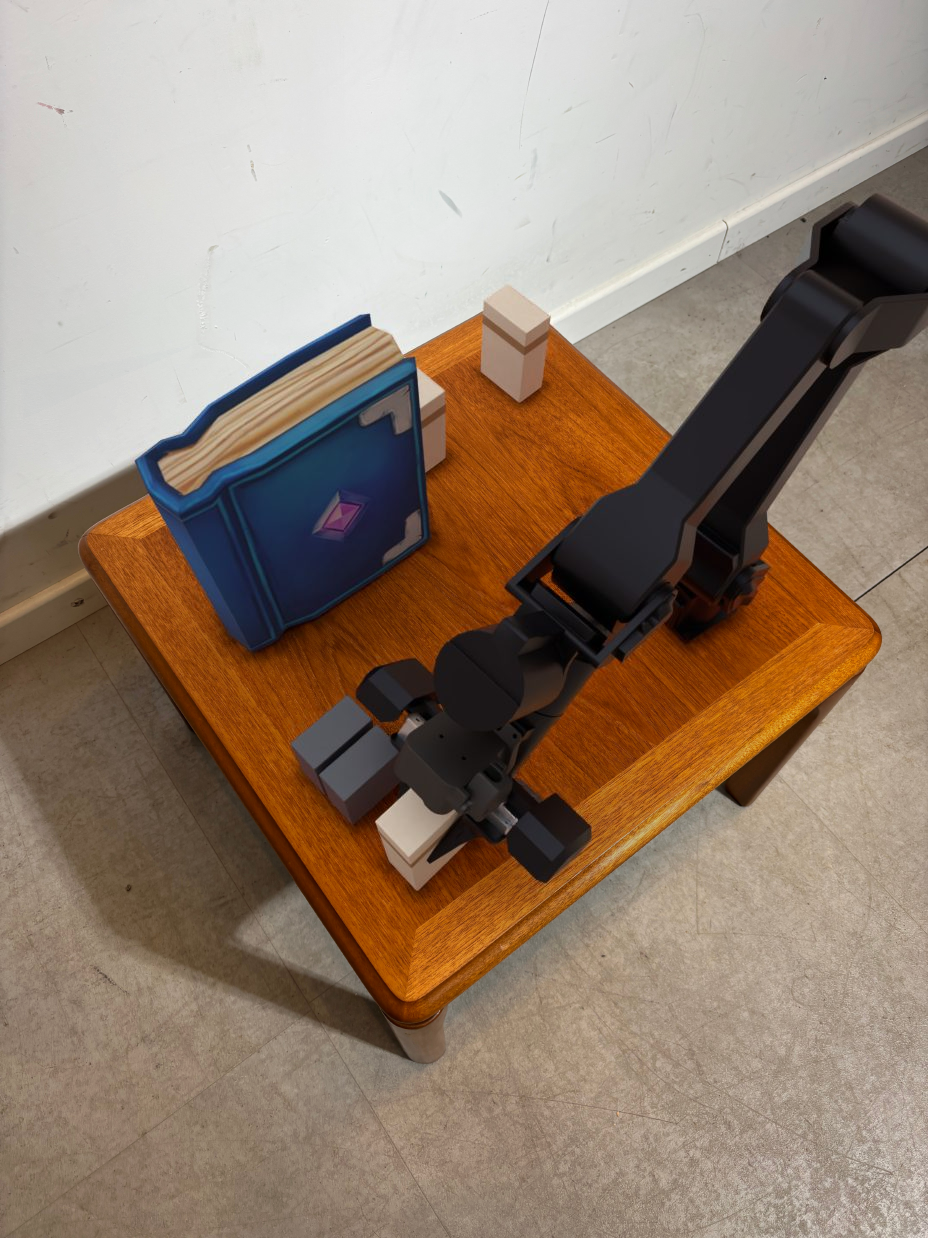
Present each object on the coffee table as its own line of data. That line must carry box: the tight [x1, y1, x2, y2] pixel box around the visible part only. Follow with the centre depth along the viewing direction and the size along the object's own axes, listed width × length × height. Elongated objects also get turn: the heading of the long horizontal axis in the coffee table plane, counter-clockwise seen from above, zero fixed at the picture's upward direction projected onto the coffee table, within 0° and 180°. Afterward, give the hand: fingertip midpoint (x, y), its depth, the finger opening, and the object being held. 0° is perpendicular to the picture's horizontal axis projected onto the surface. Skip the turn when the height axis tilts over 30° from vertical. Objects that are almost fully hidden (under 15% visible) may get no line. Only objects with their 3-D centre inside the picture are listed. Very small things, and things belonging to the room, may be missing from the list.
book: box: [134, 313, 432, 654], centre depth 74 cm, size 22×7×25 cm, turn 129°
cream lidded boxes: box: [404, 283, 552, 474], centre depth 90 cm, size 6×17×10 cm, turn 133°
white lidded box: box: [374, 788, 468, 892], centre depth 67 cm, size 6×3×12 cm, turn 134°
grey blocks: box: [289, 694, 401, 826], centre depth 73 cm, size 6×6×7 cm
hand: (413, 842), depth 66 cm, fingers closed on white lidded box, 3 cm apart
